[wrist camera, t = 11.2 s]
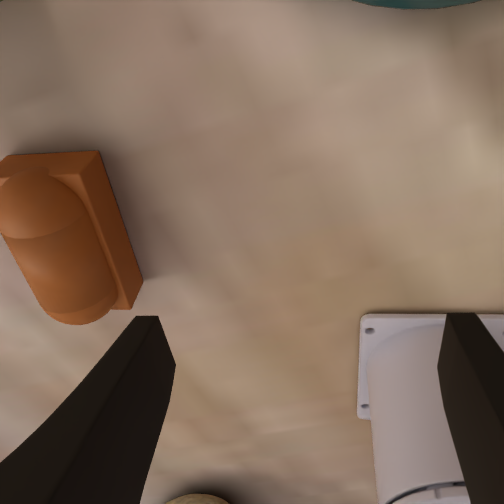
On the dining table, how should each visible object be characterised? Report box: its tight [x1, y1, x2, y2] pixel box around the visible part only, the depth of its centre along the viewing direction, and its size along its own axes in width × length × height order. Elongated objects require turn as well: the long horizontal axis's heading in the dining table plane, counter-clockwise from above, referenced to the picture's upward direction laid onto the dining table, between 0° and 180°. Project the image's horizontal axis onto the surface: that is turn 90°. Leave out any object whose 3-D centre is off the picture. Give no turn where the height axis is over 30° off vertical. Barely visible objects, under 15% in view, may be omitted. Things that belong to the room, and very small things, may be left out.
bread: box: [0, 151, 143, 325], centre depth 22 cm, size 8×5×4 cm, turn 7°
